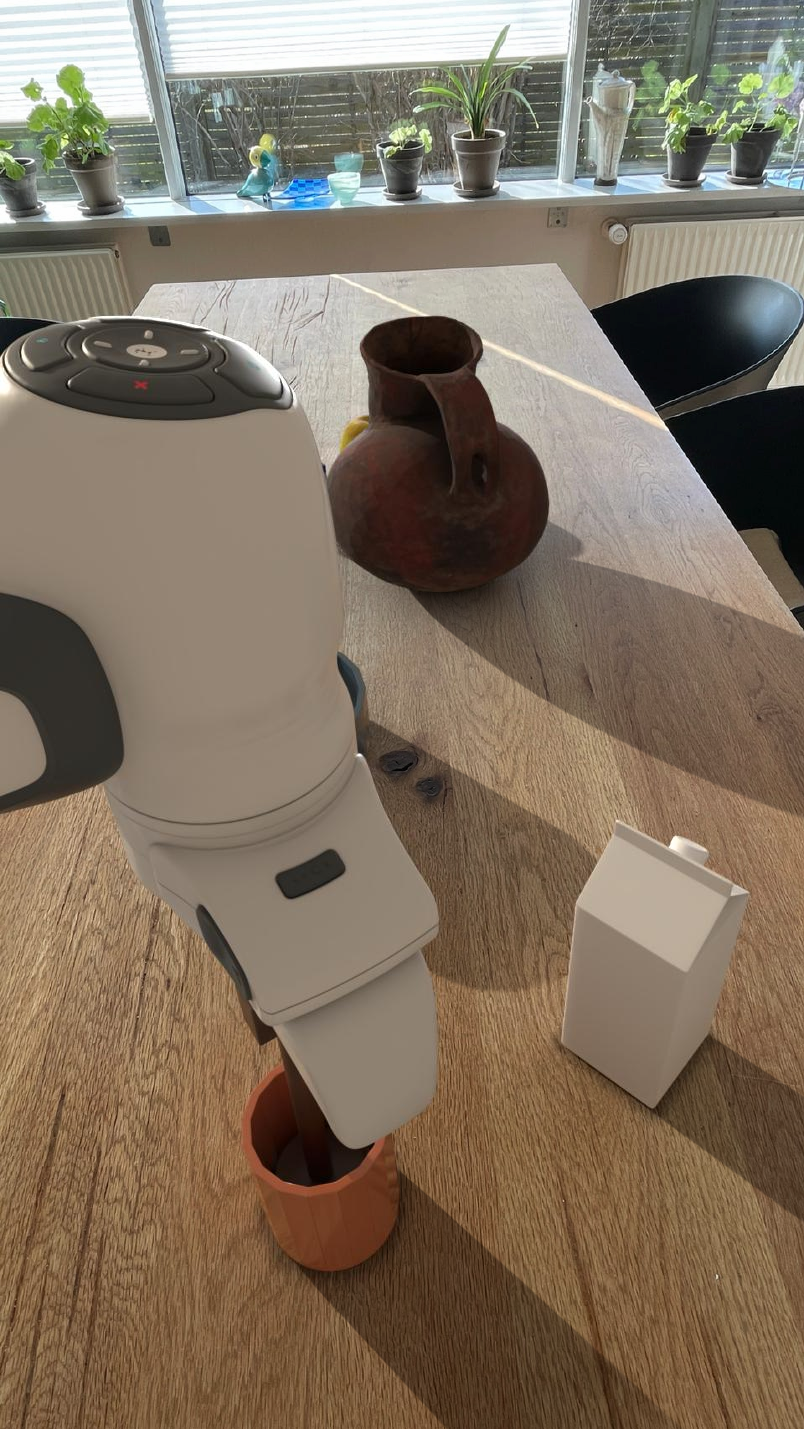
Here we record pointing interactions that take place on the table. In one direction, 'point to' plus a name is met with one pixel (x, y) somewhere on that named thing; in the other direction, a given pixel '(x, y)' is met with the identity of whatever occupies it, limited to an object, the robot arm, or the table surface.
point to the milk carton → (648, 959)
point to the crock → (317, 1188)
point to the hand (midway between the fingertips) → (285, 1007)
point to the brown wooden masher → (304, 1124)
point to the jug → (434, 466)
